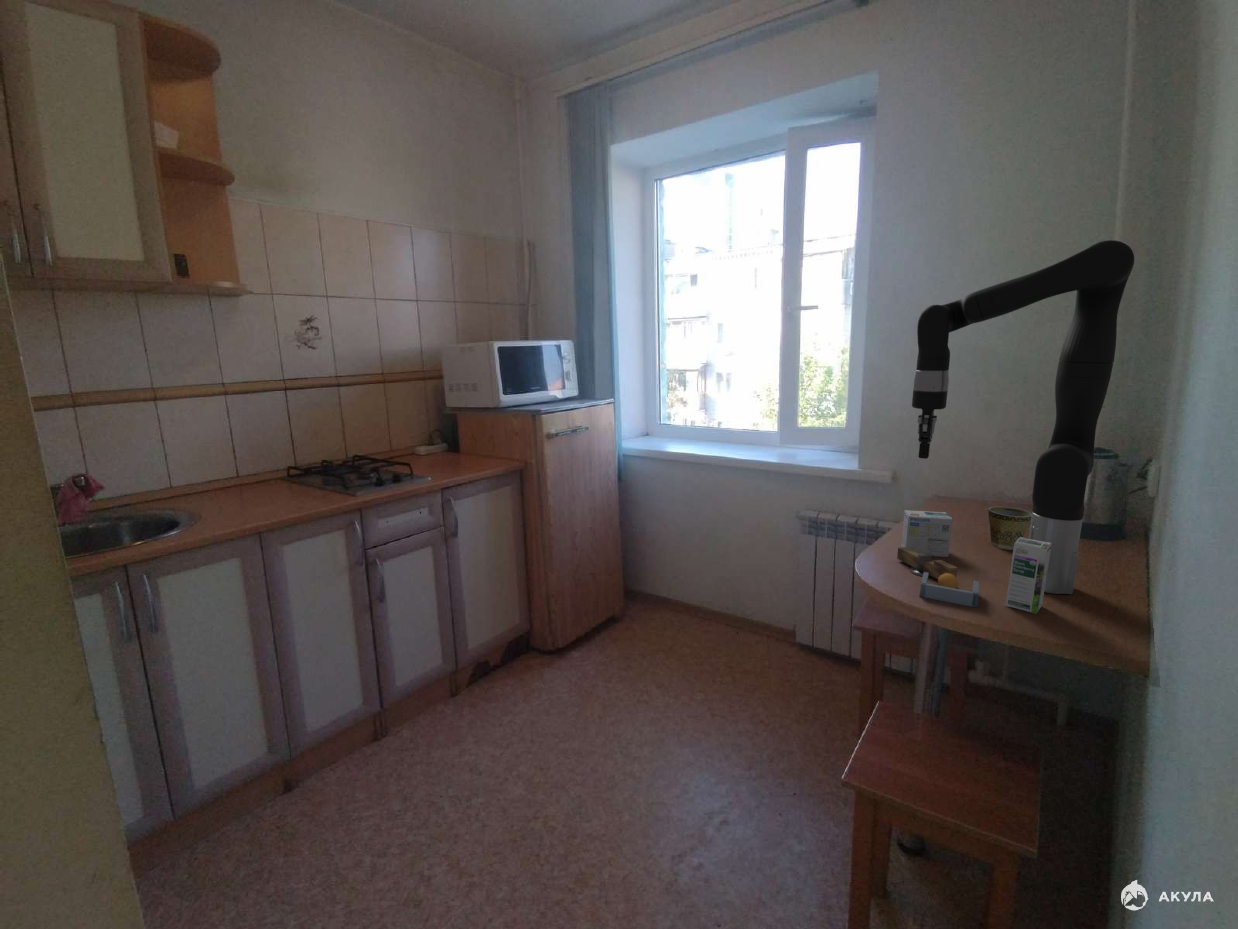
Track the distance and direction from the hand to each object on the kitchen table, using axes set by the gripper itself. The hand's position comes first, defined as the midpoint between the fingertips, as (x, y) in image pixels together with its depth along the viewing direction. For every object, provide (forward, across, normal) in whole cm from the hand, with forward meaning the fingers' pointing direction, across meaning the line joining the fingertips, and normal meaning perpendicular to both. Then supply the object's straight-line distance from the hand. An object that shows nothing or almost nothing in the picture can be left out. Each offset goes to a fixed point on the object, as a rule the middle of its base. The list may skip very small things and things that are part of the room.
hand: (923, 457), depth 146 cm
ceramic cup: (+27, +25, -21) cm, 42 cm away
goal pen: (+27, -21, -9) cm, 35 cm away
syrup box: (+27, -19, -23) cm, 40 cm away
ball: (+23, -18, -8) cm, 30 cm away
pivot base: (+27, -9, -3) cm, 28 cm away
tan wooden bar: (+27, -9, -3) cm, 28 cm away
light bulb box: (+27, +7, -2) cm, 28 cm away
